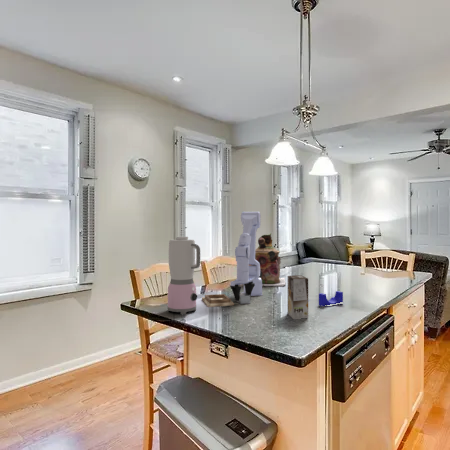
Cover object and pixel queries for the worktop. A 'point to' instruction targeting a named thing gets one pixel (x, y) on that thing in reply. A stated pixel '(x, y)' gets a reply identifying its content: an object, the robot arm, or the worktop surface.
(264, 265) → the cookie jar
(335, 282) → the worktop surface
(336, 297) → the cable clip
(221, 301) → the tray
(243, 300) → the block
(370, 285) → the worktop surface
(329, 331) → the worktop surface
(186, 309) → the blender
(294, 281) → the coffee box
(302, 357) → the worktop surface
